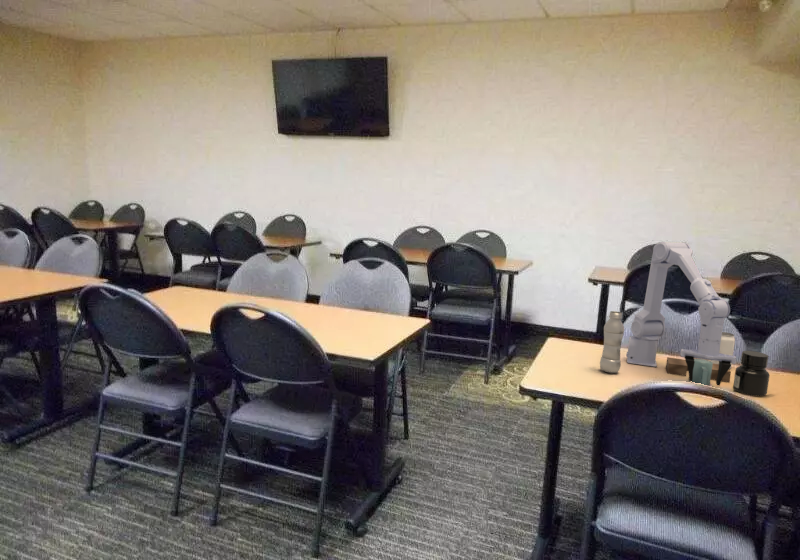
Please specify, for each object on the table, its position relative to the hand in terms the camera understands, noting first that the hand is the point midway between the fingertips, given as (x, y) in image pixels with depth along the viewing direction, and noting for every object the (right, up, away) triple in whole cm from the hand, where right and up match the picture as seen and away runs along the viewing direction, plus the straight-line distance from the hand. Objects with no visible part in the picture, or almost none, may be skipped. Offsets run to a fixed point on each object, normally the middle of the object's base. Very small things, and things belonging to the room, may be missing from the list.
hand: (704, 382), depth 173 cm
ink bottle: (+14, -3, +1) cm, 15 cm away
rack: (+6, 0, +15) cm, 17 cm away
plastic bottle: (-24, +1, +14) cm, 27 cm away
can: (+20, 0, +26) cm, 33 cm away
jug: (+2, -2, +5) cm, 6 cm away
